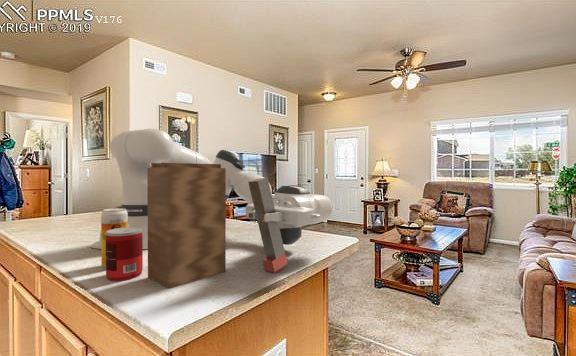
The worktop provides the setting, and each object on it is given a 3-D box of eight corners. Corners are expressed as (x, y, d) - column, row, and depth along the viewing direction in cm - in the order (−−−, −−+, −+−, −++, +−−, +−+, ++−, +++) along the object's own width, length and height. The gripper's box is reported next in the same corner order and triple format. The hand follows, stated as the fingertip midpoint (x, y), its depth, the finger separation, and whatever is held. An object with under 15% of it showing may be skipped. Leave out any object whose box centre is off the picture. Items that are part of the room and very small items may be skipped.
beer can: (104, 270, 77) (104, 211, 76) (99, 265, 81) (98, 209, 81) (130, 266, 81) (130, 209, 80) (124, 261, 85) (124, 207, 85)
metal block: (258, 178, 78) (243, 183, 74) (267, 177, 76) (253, 182, 72) (277, 262, 81) (264, 270, 77) (287, 263, 79) (274, 272, 75)
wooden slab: (203, 263, 83) (203, 164, 83) (225, 271, 77) (225, 164, 76) (147, 277, 72) (147, 163, 71) (168, 288, 65) (168, 162, 65)
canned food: (148, 270, 77) (148, 227, 77) (131, 281, 69) (130, 233, 69) (119, 269, 78) (118, 226, 77) (98, 281, 70) (98, 233, 69)
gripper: (323, 227, 78) (287, 235, 67) (267, 219, 91) (230, 224, 81) (324, 202, 78) (288, 207, 67) (267, 198, 91) (230, 201, 81)
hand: (256, 216), depth 74 cm, fingers closed on metal block, 4 cm apart
